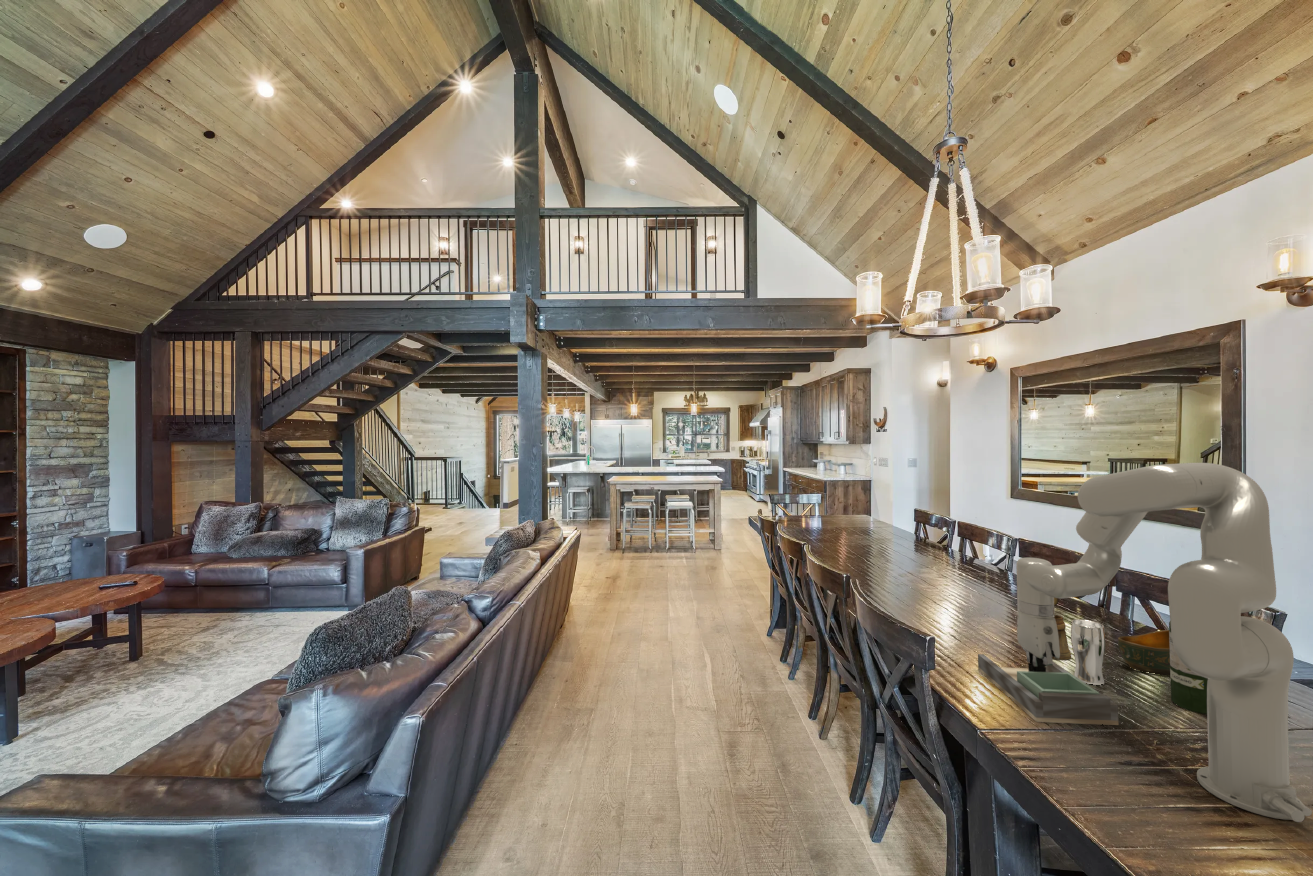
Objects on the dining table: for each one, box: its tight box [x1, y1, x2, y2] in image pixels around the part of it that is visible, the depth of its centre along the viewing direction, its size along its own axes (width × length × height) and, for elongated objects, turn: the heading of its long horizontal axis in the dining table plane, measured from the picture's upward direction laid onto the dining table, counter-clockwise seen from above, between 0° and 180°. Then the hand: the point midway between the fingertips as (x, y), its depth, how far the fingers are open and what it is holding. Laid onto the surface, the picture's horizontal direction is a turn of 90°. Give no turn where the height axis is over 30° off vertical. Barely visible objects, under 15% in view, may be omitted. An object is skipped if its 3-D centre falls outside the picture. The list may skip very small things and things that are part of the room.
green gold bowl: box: [1117, 629, 1170, 676], centre depth 140 cm, size 13×20×10 cm, turn 59°
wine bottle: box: [1168, 621, 1208, 715], centre depth 121 cm, size 8×8×30 cm
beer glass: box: [1070, 618, 1106, 686], centre depth 135 cm, size 7×7×15 cm
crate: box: [1017, 671, 1100, 699], centre depth 122 cm, size 10×12×5 cm
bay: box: [977, 653, 1119, 726], centre depth 128 cm, size 26×17×6 cm, turn 173°
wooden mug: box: [1052, 598, 1072, 661], centre depth 153 cm, size 9×14×18 cm, turn 151°
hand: (1037, 680), depth 129 cm, fingers closed
